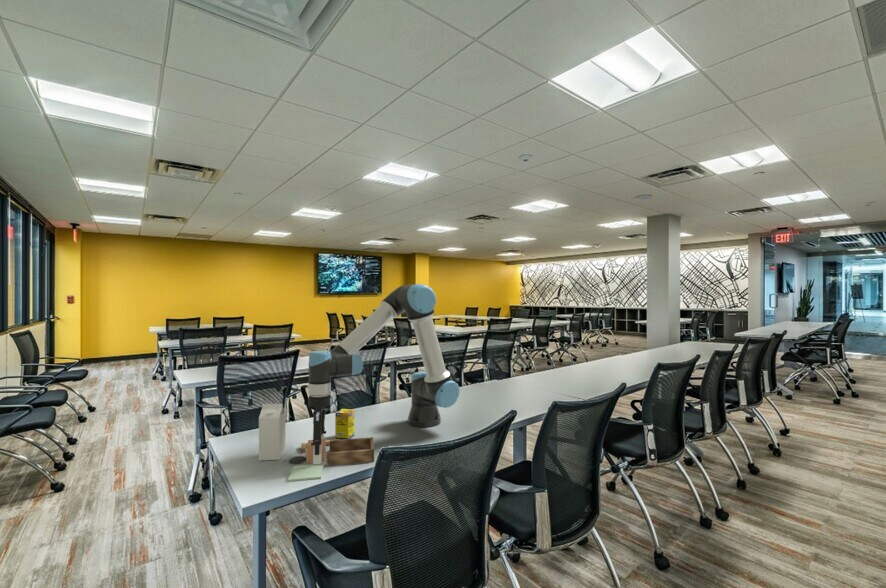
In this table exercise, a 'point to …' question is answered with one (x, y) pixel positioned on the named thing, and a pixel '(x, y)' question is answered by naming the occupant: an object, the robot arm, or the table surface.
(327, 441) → the oak crook tool
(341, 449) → the walnut stall
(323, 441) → the terracotta block
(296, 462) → the hole disc
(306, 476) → the felt pad
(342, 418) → the supplement box
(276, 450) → the milk carton
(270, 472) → the table surface
